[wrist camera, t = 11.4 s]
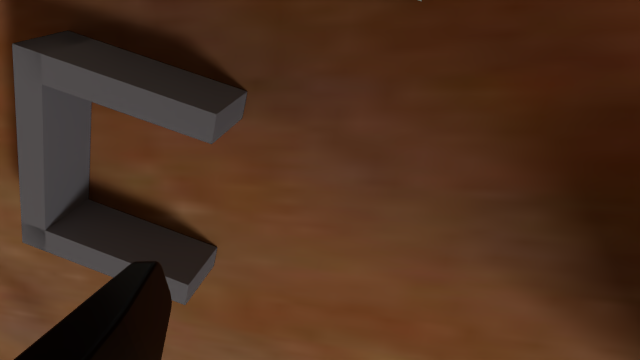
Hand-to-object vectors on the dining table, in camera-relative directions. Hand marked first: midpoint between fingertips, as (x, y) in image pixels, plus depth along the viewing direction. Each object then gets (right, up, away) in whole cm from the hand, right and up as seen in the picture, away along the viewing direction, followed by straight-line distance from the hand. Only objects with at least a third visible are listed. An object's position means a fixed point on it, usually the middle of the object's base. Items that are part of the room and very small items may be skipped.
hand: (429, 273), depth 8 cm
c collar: (-9, +2, +14) cm, 17 cm away
